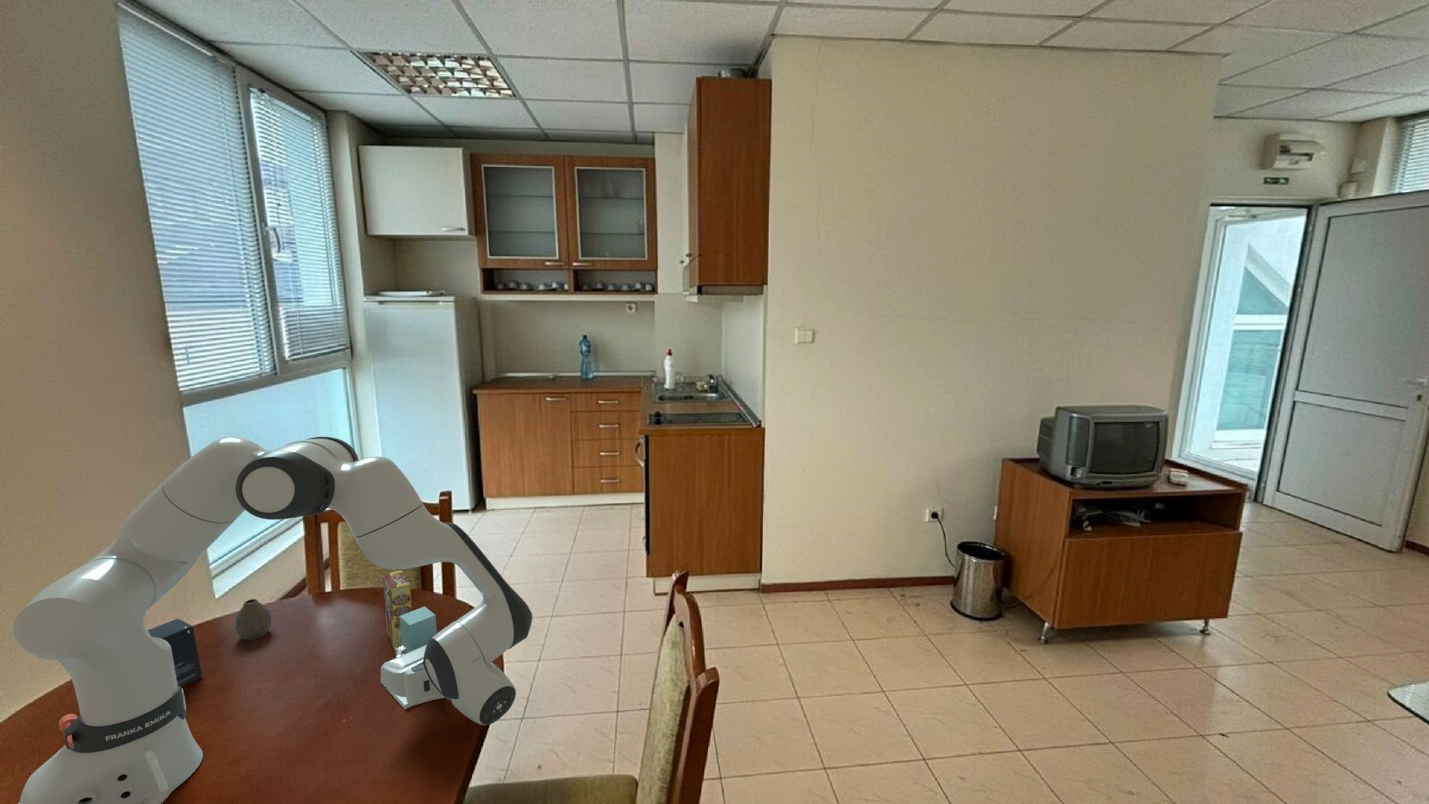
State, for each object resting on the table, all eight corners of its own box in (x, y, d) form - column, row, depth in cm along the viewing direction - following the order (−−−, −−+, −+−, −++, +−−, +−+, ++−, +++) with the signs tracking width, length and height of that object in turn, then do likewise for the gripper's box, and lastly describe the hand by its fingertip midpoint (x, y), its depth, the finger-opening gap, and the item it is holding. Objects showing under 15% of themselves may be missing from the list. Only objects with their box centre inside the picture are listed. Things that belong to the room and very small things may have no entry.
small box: (187, 667, 124) (179, 616, 122) (204, 677, 121) (195, 625, 119) (103, 705, 113) (92, 650, 110) (119, 717, 110) (108, 660, 108)
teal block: (415, 688, 117) (409, 625, 115) (405, 677, 120) (399, 616, 118) (440, 676, 121) (435, 615, 119) (429, 666, 124) (424, 606, 122)
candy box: (415, 645, 133) (410, 583, 131) (394, 652, 131) (389, 589, 128) (407, 628, 140) (401, 569, 137) (386, 634, 137) (381, 574, 135)
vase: (228, 641, 134) (223, 606, 132) (259, 625, 140) (255, 591, 139) (250, 646, 132) (245, 611, 130) (280, 630, 138) (276, 596, 137)
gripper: (505, 629, 117) (471, 605, 125) (397, 679, 101) (368, 647, 110) (507, 657, 118) (473, 632, 127) (401, 711, 102) (371, 677, 111)
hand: (423, 639), depth 118 cm, fingers open, 8 cm apart
